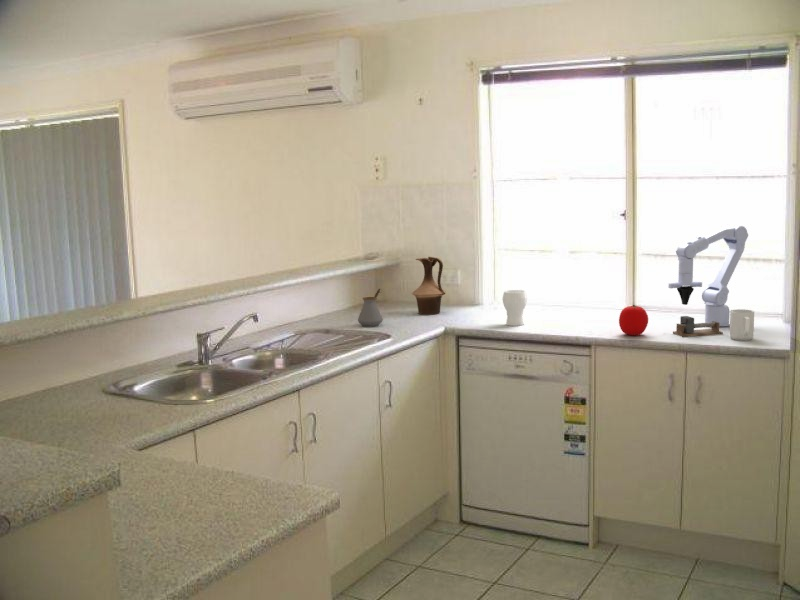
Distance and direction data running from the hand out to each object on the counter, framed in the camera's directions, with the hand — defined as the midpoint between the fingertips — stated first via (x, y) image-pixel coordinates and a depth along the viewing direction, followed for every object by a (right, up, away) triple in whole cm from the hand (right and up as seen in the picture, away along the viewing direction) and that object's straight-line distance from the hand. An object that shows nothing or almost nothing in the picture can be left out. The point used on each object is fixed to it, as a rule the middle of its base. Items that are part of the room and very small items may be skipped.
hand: (684, 304), depth 361 cm
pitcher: (-106, -5, +58) cm, 121 cm away
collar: (-3, -11, -11) cm, 16 cm away
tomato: (-24, -13, -8) cm, 28 cm away
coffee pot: (-133, -9, +34) cm, 138 cm away
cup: (-69, -9, +22) cm, 73 cm away
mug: (+15, -14, -24) cm, 31 cm away
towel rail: (+2, -12, -10) cm, 16 cm away
